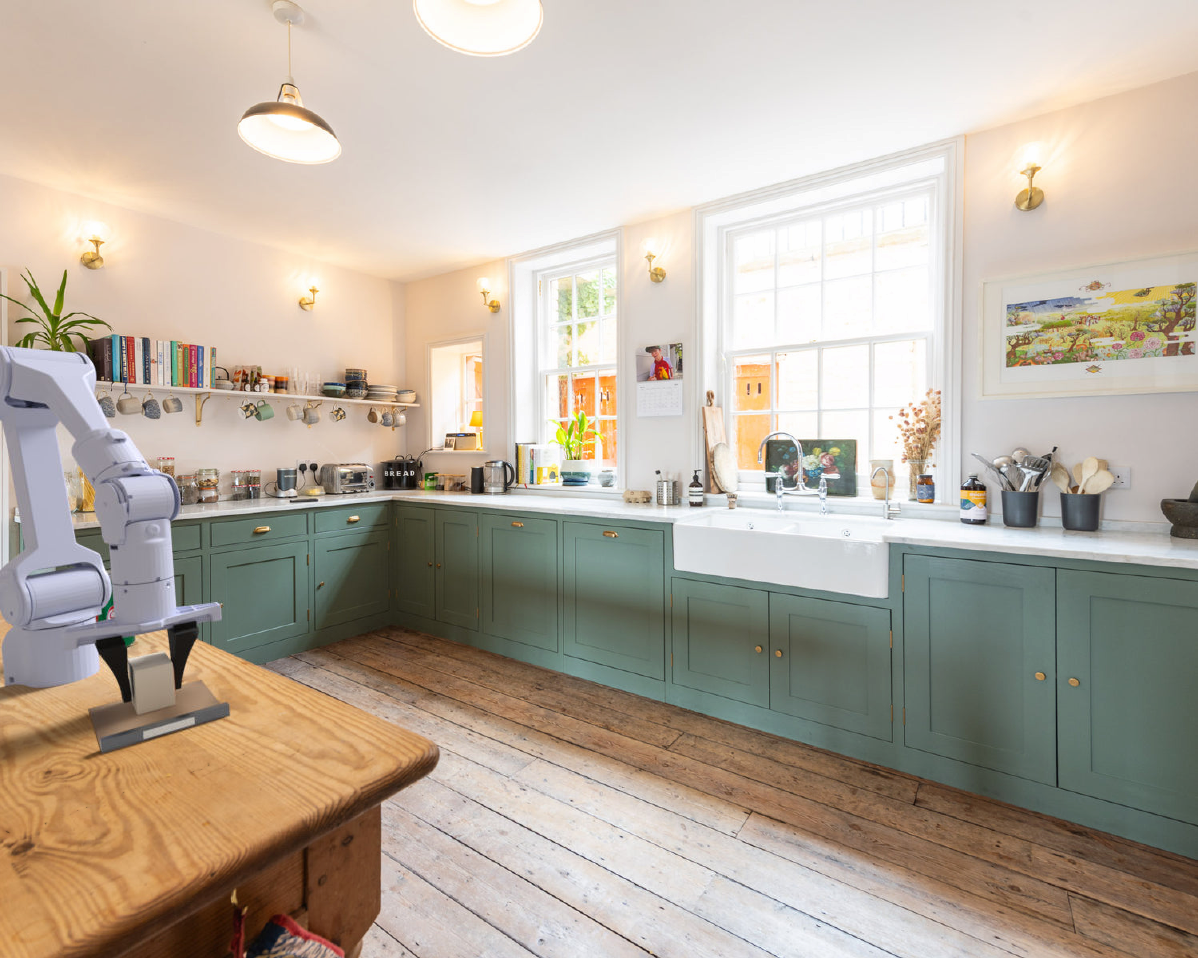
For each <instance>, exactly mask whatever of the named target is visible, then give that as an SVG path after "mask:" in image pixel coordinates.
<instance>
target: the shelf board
mask: <svg viewBox="0 0 1198 958" xmlns="http://www.w3.org/2000/svg"><path fill="white" fill-rule="evenodd" d="M175 694H176V697H175V704H176V705H172V706H169V707H165V708H161V709H158V710H154V711H150V712H147V713H143V714H139V715H138V714H137V712H136V710H135V708H134V706H133V704H132V702H127V703H124V702H123V700H122V699H121V700H117V701H114V702H113V701H112V702H108V703H106V704H102V705H98V706H94V707H90V708H88V711H89V715H90V718H91V721H92V724H93V729H94V733H95V734H96V739H97V742H98V745H99V749H100V750H101V746H100V738H102V737H105V736H109V735H112V734H116V733H119V732H123V731H126V730H130V729H133V728H137V727H140V726H144V725H147V724H151V723H154V722H158V721H161V720H165V719H168V718H172V717H175V716H179V715H182V714H186V713H190V712H193V711H197V710H200V709H204V708H207V707H211V706H214V705H218V704H221V703H222V702H220V700H218V698H217V697H216V696H215V694H214V693H213V692H212V691H211V689H209V687H207V685H206V684H205V682H204V681H203V680H202V679H200V680H199V679H198V680H196V681H192V682H191V681H190V682H187V683H182V687H181V689H177V690H175ZM229 716H231V714H230V715H228V716H225V717H222V718H218V719H215V720H212V721H208V722H205V723H202V724H198V725H195V726H192V727H188V728H185V729H182V730H178V731H175V732H179V731H183V730H186V729H189V728H193V727H196V726H200V725H203V724H206V723H209V722H213V721H216V720H219V719H223V718H226V717H229ZM175 732H172V733H168V734H165V735H169V734H173V733H175ZM165 735H161V736H158V737H155V738H151V739H148V740H145V741H141V742H138V743H135V744H131V745H128V746H125V747H121V748H118V749H119V750H120V749H123V748H126V747H129V746H132V745H136V744H139V743H144V742H146V741H151V740H152V739H156V738H159V737H163V736H165ZM118 749H115V750H111V751H108V752H105V753H102V752H101V754H106V753H109V752H113V751H116V750H118Z"/></svg>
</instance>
